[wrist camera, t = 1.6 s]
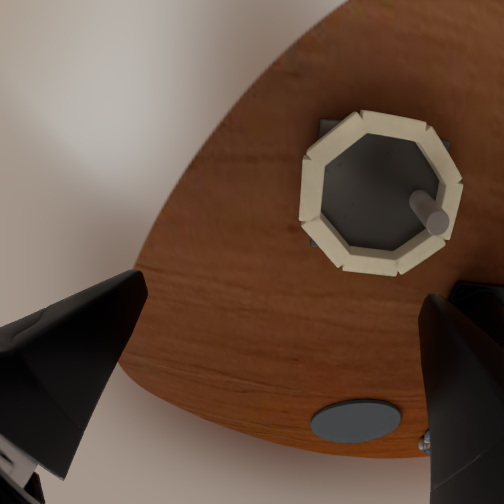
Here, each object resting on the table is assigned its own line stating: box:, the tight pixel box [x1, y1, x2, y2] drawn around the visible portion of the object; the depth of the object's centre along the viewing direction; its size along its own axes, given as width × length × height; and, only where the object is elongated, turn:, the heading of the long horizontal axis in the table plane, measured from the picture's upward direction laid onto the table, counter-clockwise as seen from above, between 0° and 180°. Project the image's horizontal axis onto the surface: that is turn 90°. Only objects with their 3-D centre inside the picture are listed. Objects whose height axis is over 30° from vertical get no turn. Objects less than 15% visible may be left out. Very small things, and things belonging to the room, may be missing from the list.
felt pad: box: [311, 399, 401, 443], centre depth 29 cm, size 11×11×1 cm
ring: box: [299, 110, 463, 276], centre depth 15 cm, size 10×10×1 cm
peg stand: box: [310, 118, 450, 251], centre depth 15 cm, size 8×8×4 cm
